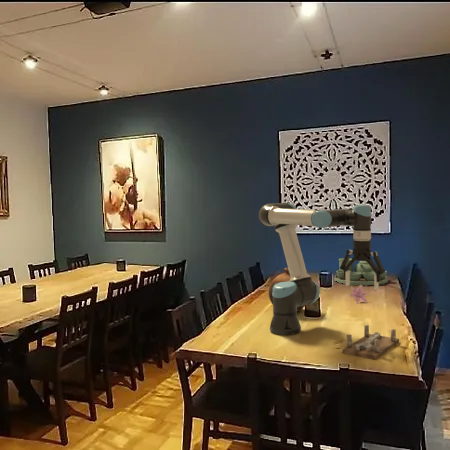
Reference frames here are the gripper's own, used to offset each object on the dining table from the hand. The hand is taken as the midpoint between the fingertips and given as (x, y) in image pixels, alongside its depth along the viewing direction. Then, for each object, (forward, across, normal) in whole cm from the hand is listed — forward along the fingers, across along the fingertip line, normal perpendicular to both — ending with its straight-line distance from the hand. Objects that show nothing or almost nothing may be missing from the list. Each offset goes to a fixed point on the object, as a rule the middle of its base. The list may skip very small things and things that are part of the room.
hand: (361, 287), depth 206 cm
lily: (+26, -35, +71) cm, 83 cm away
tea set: (+27, -64, +138) cm, 155 cm away
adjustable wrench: (+23, +8, -6) cm, 25 cm away
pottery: (+26, -56, +27) cm, 67 cm away
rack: (+24, +8, -7) cm, 26 cm away
